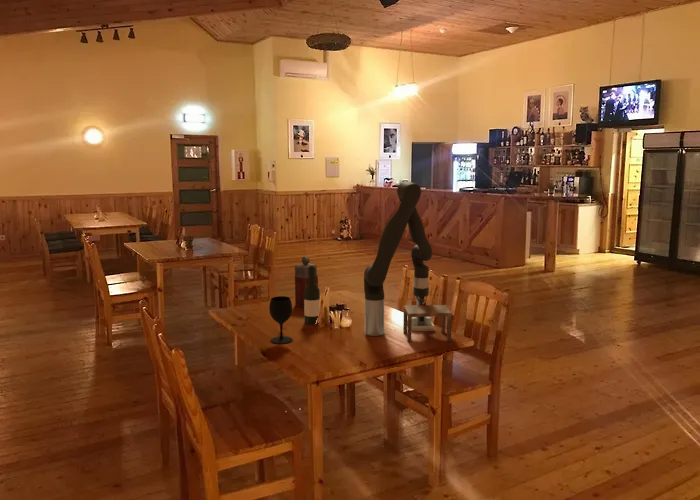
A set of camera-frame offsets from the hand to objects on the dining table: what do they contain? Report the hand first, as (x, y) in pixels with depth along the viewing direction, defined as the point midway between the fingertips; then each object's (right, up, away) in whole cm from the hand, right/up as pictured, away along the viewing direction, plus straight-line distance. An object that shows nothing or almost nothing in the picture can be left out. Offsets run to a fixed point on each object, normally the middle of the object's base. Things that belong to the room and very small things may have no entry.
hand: (420, 319), depth 287 cm
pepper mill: (-59, +3, +45) cm, 74 cm away
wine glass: (-67, -8, -18) cm, 69 cm away
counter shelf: (+1, -7, -13) cm, 15 cm away
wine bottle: (-54, -3, +11) cm, 55 cm away
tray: (0, -4, +1) cm, 5 cm away
